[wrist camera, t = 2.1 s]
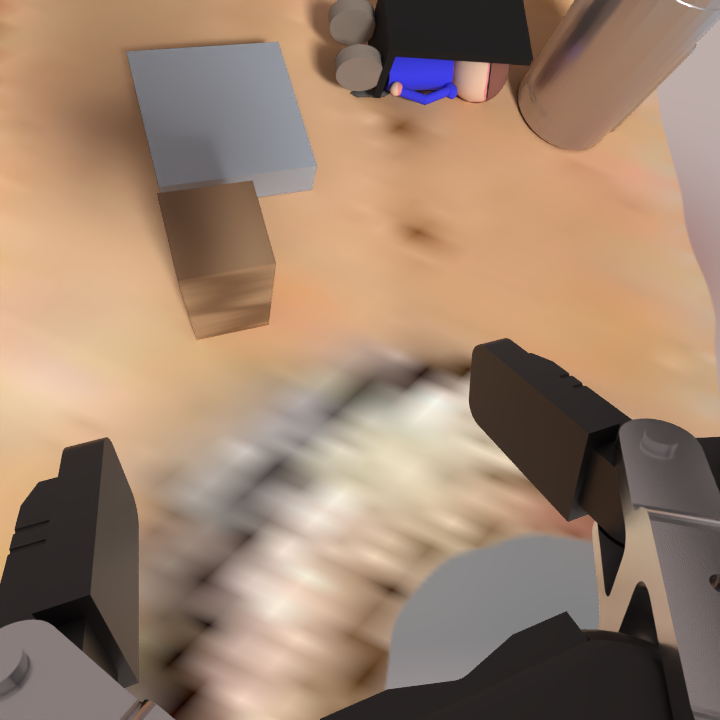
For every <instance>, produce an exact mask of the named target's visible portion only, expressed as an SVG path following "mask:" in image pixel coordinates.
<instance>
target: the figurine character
mask: <svg viewBox="0 0 720 720" xmlns="http://www.w3.org/2000/svg"><path fill="white" fill-rule="evenodd" d="M329 28H330V33H331V36H332V37H333V38H334V39H335V40H336V41H337V42H339V43H340V44H343V45H347V46H348V47H346V48H344V49H343V50H341V51H340V52H339V53H338V55H337V56H336V59H335V70H336V79H337V81H338V83H339V84H340V85H341V86H342V87H344V88H346V89H348V90H352V91H354V92H352V93H350V94H352V95H354V96H356V97H373V98H380V97H385V96H386V95H388V94H390V93H389V92H387V91H389V90H390V92H391V94H392V95H393V96H401V97H403V98H406V99H409V100H412V101H415V102H418V103H421V104H424V105H426V104H429V103H431V102H434V101H436V100H439V99H442V98H444V97H448V98H450V99H453V98H455V97H456V96H457V95H458V96H459V97H461V98H462V99H464V100H465V101H468V102H471V103H481V102H485V101H488V100H490V99H492V98H493V97H494V96H496V95H497V94H498V93H499V92H500V90H501V89H502V88H503V86H504V84H505V82H506V80H507V77H508V73H509V64H513V65H528V66H529V65H530V64H531V62H532V60H533V56H532V50H531V45H530V39H529V33H528V27H527V21H526V15H525V9H524V4H523V0H378V1H377V5H376V8H375V12H374V9H373V7H372V5H371V4H370V3H369V2H368V1H366V0H338V1H337V2H336V3H334V4H333V6H332V7H331V9H330V11H329ZM367 41H368V45H365V44H363V43H365V42H367ZM371 88H372V90H369V89H371ZM385 90H386V91H385ZM413 90H437V91H434V92H432V93H429V94H427V95H425V94H422V93H419V92H416V91H413Z"/></svg>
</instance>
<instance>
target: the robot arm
mask: <svg viewBox="0 0 720 720" xmlns="http://www.w3.org/2000/svg"><path fill="white" fill-rule="evenodd" d="M719 19H720V0H574V2H573V3H572V5H571V7H570V8H569V10H568V11H567V13H566V14H565V16H564V17H563V19H562V20H561V22H560V23H559V25H558V26H557V28H556V29H555V31H554V32H553V34H552V35H551V37H550V38H549V40H548V41H547V43H546V44H545V46H544V47H543V49H542V50H541V52H540V54H539V55H538V57H537V58H536V60H535V61H534V63H533V64H532V66H531V67H530V69H529V70H528V72H527V73H526V75H525V76H524V78H523V80H522V82H521V84H520V86H519V91H518V103H519V107H520V110H521V113H522V115H523V117H524V119H525V121H526V122H527V123H528V125H529V126H530V127H531V129H532V130H533V131H534V132H535V133H536V134H537V135H538V136H540V137H541V138H542V139H544V140H545V141H547V142H548V143H550V144H552V145H554V146H557V147H559V148H563V149H566V150H577V151H578V150H585V149H588V148H590V147H593V146H595V145H596V144H597V143H598V142H600V141H601V140H602V139H603V138H604V137H605V136H606V135H607V134H608V133H609V132H610V131H614V130H615V129H616V128H617V127H618V126H619V125H620V124H621V123H622V122H623V121H624V120H625V119H626V118H627V117H628V116H629V115H630V114H631V113H632V112H633V111H634V110H635V109H636V108H637V107H638V106H639V105H640V104H641V103H642V102H643V101H644V100H645V99H646V98H647V97H648V96H649V95H650V94H651V93H652V92H653V91H654V90H655V89H656V88H657V87H658V86H659V85H660V84H661V83H662V82H663V81H664V80H665V79H666V78H667V77H668V76H669V75H670V74H671V73H672V72H673V71H674V70H675V69H676V68H677V67H678V66H679V65H680V64H681V63H682V62H683V61H684V60H685V59H686V58H687V57H688V56H689V55H690V54H691V53H692V52H693V51H694V49H695V47H696V43H697V42H698V41H699V40H700V39H701V38H702V37H703V36H704V35H705V34H706V33H707V32H708V31H709V30H710V29H711V28H712V27H713V26H714V25H715V23H717V21H718V20H719ZM469 405H470V410H471V413H472V415H473V418H474V420H475V421H476V423H477V424H478V425H479V426H480V427H481V428H482V430H483V431H484V432H485V433H486V434H487V435H488V436H489V437H490V438H491V439H492V440H493V441H494V443H495V444H496V445H497V446H498V447H499V448H500V449H501V450H502V451H503V452H504V453H505V454H506V456H507V457H508V458H509V459H510V460H511V461H512V462H513V463H514V464H515V465H516V466H517V467H518V469H519V470H520V471H521V472H522V473H523V474H524V475H525V476H526V477H527V478H528V479H529V480H530V482H531V483H532V484H533V485H534V486H535V487H536V488H537V489H538V490H539V491H540V492H541V493H542V494H543V496H544V497H545V498H546V499H547V500H548V501H549V502H550V503H551V504H552V505H553V506H554V507H555V509H556V510H557V511H558V512H559V513H560V514H561V515H562V516H563V517H564V518H565V519H566V520H567V522H569V521H571V520H574V519H577V518H579V517H582V516H585V515H587V514H589V515H590V516H591V517H592V518H593V519H594V520H595V521H594V525H593V528H592V537H593V547H594V557H595V566H596V577H597V587H598V597H599V609H600V615H599V628H598V630H586V629H584V630H580V628H579V627H578V626H577V624H576V623H575V622H574V621H573V619H572V618H571V617H570V615H569V614H568V613H567V612H564V613H562V614H559V615H557V616H555V617H552V618H550V619H548V620H545V621H543V622H541V623H539V624H536V625H534V626H532V627H530V628H527V629H525V630H522V631H520V632H518V633H516V634H513V635H512V636H511V637H509V638H508V639H507V640H506V641H505V642H504V643H503V644H502V645H501V646H499V647H498V648H497V649H496V650H495V651H494V652H493V653H491V654H490V655H489V656H488V657H487V658H486V659H485V660H484V661H482V662H481V663H480V664H479V665H478V666H477V667H476V668H475V669H474V670H472V671H471V672H470V673H469V674H468V675H466V676H465V677H464V678H462V679H459V680H456V681H449V682H441V683H434V684H426V685H418V686H411V687H403V688H396V689H388V690H385V691H383V692H381V693H378V694H376V695H374V696H372V697H369V698H367V699H365V700H362V701H360V702H358V703H356V704H353V705H351V706H349V707H346V708H344V709H342V710H340V711H337V712H335V713H333V714H330V715H328V716H326V717H324V718H321V719H320V720H720V437H707V438H695V437H694V436H693V435H691V434H690V433H689V432H687V431H686V430H684V429H682V428H681V427H678V426H676V425H674V424H671V423H668V422H665V421H661V420H656V419H635V420H632V419H630V418H629V417H628V416H626V415H625V414H624V413H622V412H621V411H619V410H618V409H617V408H615V407H614V406H613V405H611V404H610V403H609V402H607V401H606V400H605V399H603V398H602V397H600V396H599V395H598V394H596V393H595V392H594V391H592V390H591V389H590V388H588V387H587V386H583V385H582V383H581V382H580V381H579V380H577V379H576V378H575V377H573V376H569V373H568V372H566V371H565V370H564V369H562V368H561V367H560V366H558V365H557V364H555V363H554V362H553V361H550V360H548V359H545V358H543V357H540V356H538V355H535V354H532V353H527V352H526V351H525V350H523V349H522V348H521V347H520V346H518V345H517V344H516V343H514V342H513V341H512V340H510V339H507V338H504V339H500V340H496V341H492V342H488V343H484V344H480V345H477V346H476V347H475V348H474V350H473V353H472V364H471V377H470V391H469ZM9 550H10V554H9V555H8V556H7V560H6V564H5V568H4V572H3V575H2V579H1V583H0V720H175V719H173V718H172V717H171V716H170V715H169V714H168V713H166V712H165V711H164V710H163V709H162V708H160V707H159V706H158V705H156V704H155V703H153V702H152V701H150V700H144V701H143V702H140V701H139V700H137V699H136V698H135V697H133V696H132V695H131V694H130V693H129V692H128V691H127V690H125V689H124V688H126V687H128V686H131V685H134V684H136V683H139V524H138V514H137V508H136V504H135V500H134V497H133V494H132V491H131V489H130V486H129V484H128V481H127V479H126V476H125V474H124V471H123V469H122V466H121V464H120V461H119V459H118V457H117V454H116V452H115V449H114V447H113V444H112V442H111V441H110V439H109V438H107V437H106V438H102V439H98V440H94V441H90V442H86V443H82V444H78V445H74V446H70V447H66V448H64V450H63V453H62V458H61V464H60V469H59V474H58V477H56V478H52V479H49V480H45V481H41V482H39V483H38V484H37V485H36V486H35V488H34V489H33V490H32V492H31V493H30V494H29V496H28V497H27V498H26V500H25V501H24V502H23V504H22V505H21V507H20V511H19V514H18V518H17V522H16V526H15V534H13V537H12V541H11V545H10V549H9Z"/></svg>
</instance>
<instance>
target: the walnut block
mask: <svg viewBox="0 0 720 720" xmlns="http://www.w3.org/2000/svg"><path fill="white" fill-rule="evenodd" d="M157 195H158V200H159V204H160V208H161V212H162V216H163V221H164V225H165V229H166V233H167V237H168V242H169V246H170V250H171V254H172V258H173V263H174V267H175V271H176V275H177V279H178V283H179V286H180V289H181V292H182V295H183V299H184V302H185V305H186V308H187V311H188V314H189V317H190V321H191V324H192V327H193V330H194V333H195V336H196V339H197V340H199V339H204V338H209V337H213V336H218V335H223V334H227V333H232V332H237V331H241V330H246V329H251V328H256V327H260V326H265V325H269V317H270V308H271V300H272V292H273V283H274V275H275V267H276V262H275V258H274V254H273V251H272V247H271V244H270V240H269V237H268V233H267V230H266V226H265V222H264V219H263V215H262V212H261V208H260V205H259V201H258V198H257V194H256V191H255V187H254V183H253V180H252V181H245V182H237V183H230V184H222V185H215V186H208V187H200V188H193V189H186V190H178V191H171V192H163V193H157Z"/></svg>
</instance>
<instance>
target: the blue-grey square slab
mask: <svg viewBox="0 0 720 720" xmlns="http://www.w3.org/2000/svg"><path fill="white" fill-rule="evenodd" d="M126 52H127V57H128V61H129V65H130V69H131V73H132V77H133V82H134V86H135V90H136V94H137V98H138V102H139V107H140V111H141V115H142V119H143V123H144V127H145V132H146V136H147V140H148V144H149V148H150V152H151V157H152V161H153V165H154V169H155V173H156V177H157V182H158V186H159V189H160V193H163V192H171V191H178V190H186V189H193V188H200V187H208V186H215V185H222V184H230V183H237V182H245V181H252V180H253V183H254V187H255V191H256V194H257V198H258V197H265V196H272V195H279V194H286V193H293V192H299V191H306V190H312V187H313V183H314V178H315V173H316V168H317V164H316V161H315V158H314V155H313V152H312V148H311V145H310V142H309V139H308V136H307V132H306V129H305V126H304V123H303V119H302V116H301V113H300V110H299V107H298V103H297V100H296V97H295V94H294V91H293V87H292V84H291V81H290V78H289V75H288V71H287V68H286V65H285V62H284V59H283V55H282V52H281V49H280V46H279V43H278V42H266V43H251V44H235V45H219V46H203V47H187V48H172V49H156V50H140V51H126Z"/></svg>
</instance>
